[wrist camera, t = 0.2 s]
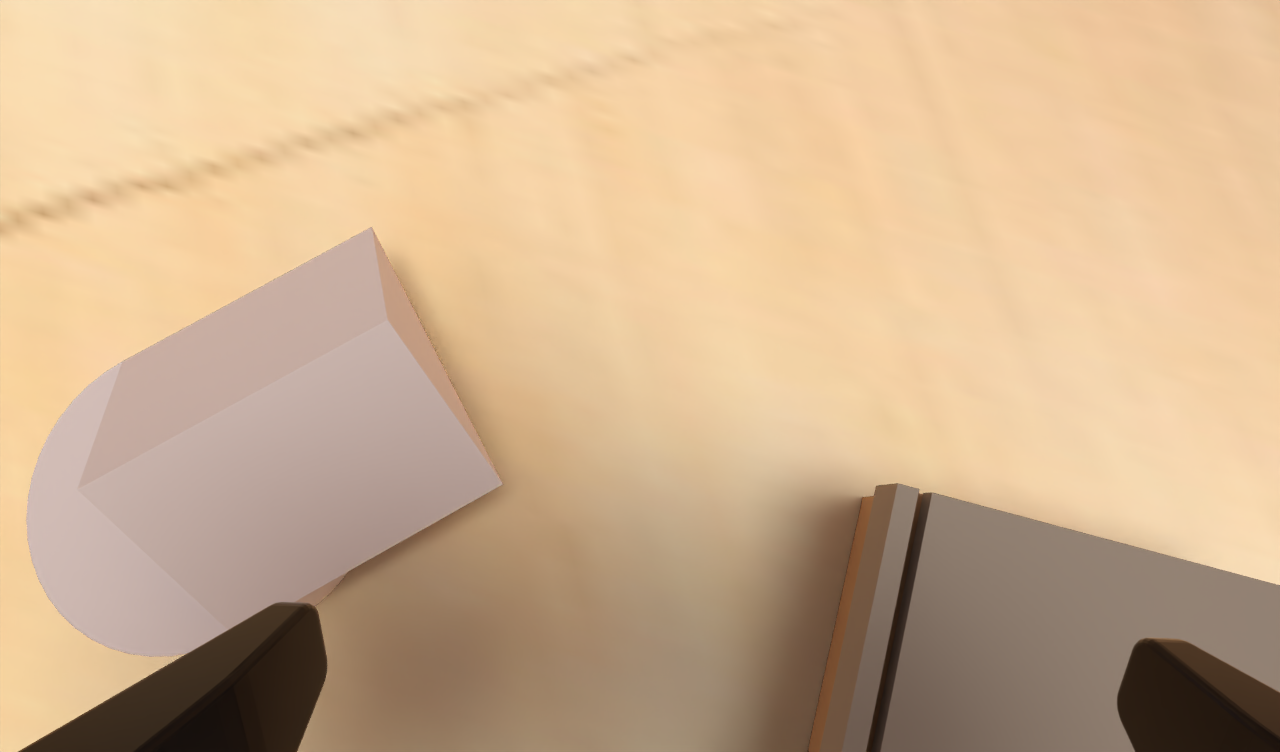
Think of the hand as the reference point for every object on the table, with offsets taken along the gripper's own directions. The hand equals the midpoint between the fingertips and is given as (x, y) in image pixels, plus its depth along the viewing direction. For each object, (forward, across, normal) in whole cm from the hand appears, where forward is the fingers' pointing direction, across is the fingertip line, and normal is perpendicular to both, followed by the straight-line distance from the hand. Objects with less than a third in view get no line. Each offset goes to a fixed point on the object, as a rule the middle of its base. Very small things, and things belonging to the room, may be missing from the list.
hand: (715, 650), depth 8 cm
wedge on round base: (+14, +13, +6) cm, 20 cm away
